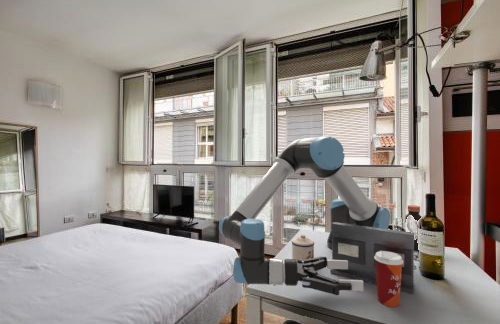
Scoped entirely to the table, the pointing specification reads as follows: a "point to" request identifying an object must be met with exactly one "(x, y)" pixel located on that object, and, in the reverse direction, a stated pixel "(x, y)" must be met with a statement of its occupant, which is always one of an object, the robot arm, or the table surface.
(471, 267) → the table surface
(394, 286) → the paper cup
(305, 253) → the teacup with lid
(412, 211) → the bottle
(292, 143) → the robot arm
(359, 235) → the panel
